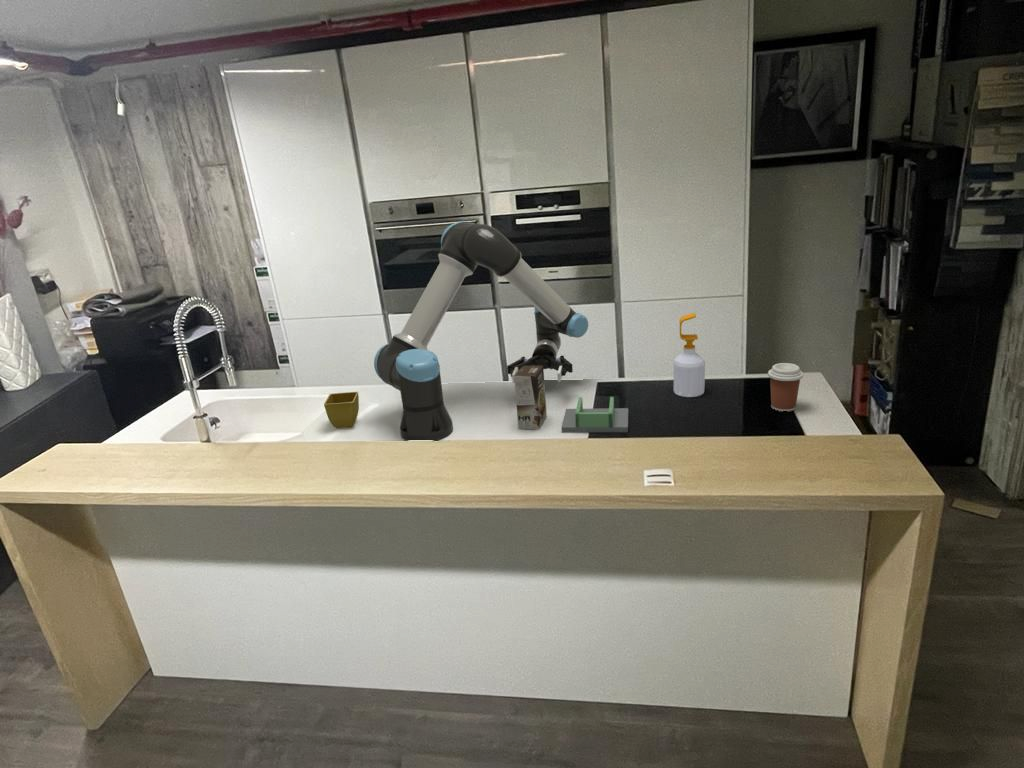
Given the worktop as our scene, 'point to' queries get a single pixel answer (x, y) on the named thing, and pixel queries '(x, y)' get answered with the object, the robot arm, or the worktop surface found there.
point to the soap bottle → (689, 367)
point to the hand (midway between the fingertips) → (536, 378)
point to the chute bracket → (595, 419)
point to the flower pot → (342, 409)
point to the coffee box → (530, 397)
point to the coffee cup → (784, 386)
